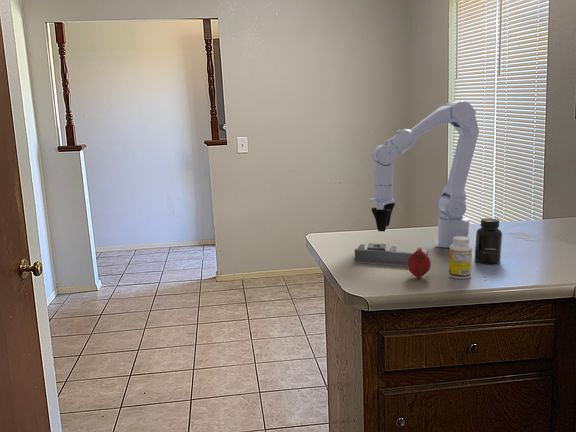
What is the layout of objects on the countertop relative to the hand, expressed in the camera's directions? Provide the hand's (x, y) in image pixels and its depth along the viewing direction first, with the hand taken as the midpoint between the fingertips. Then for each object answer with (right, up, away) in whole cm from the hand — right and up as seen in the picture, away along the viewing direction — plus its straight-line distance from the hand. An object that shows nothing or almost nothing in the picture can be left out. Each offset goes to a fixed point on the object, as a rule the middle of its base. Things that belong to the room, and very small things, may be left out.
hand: (383, 228), depth 173 cm
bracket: (0, -9, -13) cm, 16 cm away
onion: (+4, -12, -29) cm, 32 cm away
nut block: (-4, -9, -11) cm, 14 cm away
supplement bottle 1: (+15, -12, -28) cm, 34 cm away
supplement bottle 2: (+27, -9, -16) cm, 32 cm away
